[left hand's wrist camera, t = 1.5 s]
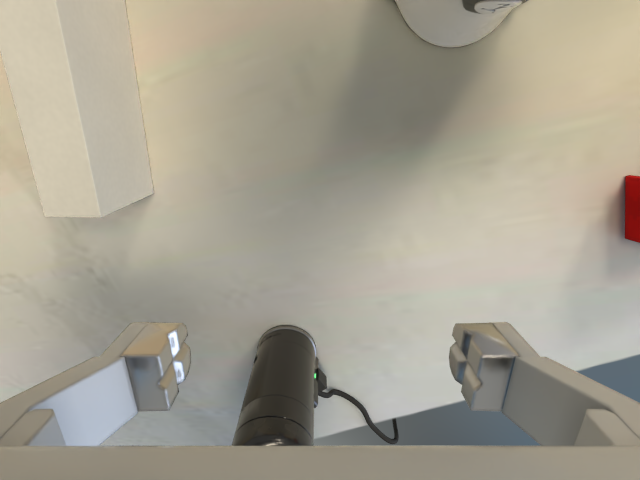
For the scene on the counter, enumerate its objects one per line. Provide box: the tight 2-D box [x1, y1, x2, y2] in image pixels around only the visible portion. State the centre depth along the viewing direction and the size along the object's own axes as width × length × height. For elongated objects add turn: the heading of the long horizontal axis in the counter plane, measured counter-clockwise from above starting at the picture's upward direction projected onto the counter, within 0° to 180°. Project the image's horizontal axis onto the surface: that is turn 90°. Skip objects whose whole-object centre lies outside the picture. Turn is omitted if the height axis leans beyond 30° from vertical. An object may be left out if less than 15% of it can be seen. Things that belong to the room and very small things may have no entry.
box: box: [0, 0, 154, 218], centre depth 37 cm, size 23×6×12 cm, turn 179°
